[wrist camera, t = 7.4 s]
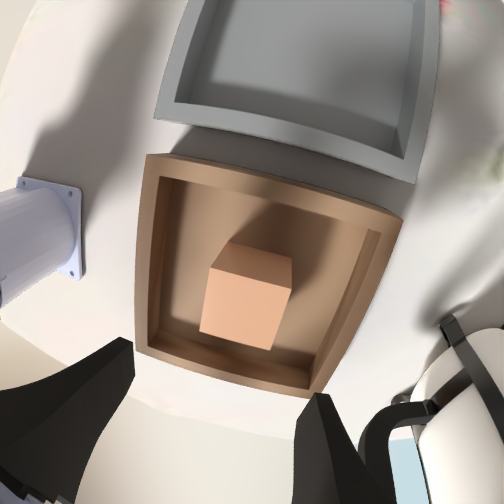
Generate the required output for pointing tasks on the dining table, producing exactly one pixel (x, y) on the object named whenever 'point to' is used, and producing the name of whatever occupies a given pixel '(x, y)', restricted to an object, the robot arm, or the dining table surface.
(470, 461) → the coffee press
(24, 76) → the dining table surface
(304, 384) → the walnut crate
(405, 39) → the grey bin
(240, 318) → the terracotta block
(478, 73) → the dining table surface
